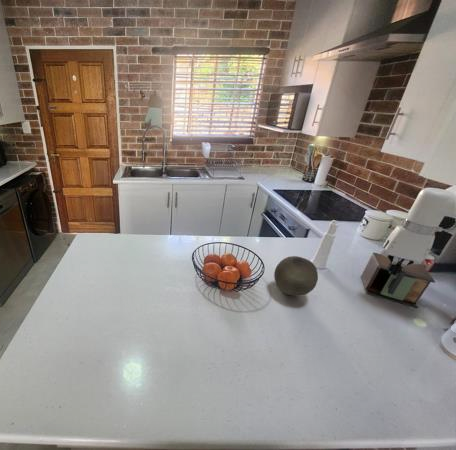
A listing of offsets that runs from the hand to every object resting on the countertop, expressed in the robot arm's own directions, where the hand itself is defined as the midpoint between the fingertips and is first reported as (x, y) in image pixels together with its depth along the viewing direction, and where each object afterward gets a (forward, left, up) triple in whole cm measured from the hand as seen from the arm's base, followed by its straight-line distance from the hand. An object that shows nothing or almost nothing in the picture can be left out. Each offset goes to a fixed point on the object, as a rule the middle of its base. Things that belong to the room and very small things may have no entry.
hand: (391, 272), depth 87 cm
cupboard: (-4, -8, -12) cm, 15 cm away
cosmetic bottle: (+19, -13, -12) cm, 26 cm away
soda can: (-15, -23, -12) cm, 30 cm away
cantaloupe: (+29, +14, -12) cm, 35 cm away
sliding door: (-4, -1, -11) cm, 12 cm away
